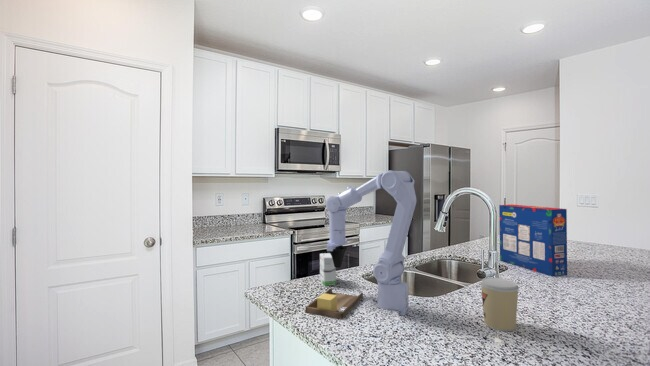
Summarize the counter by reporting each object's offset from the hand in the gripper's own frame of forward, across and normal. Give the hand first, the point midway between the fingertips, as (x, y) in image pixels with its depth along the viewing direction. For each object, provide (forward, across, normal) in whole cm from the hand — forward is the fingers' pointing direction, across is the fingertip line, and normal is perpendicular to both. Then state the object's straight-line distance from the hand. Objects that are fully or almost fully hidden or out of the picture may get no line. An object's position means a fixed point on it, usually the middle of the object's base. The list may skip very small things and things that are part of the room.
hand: (337, 267), depth 116 cm
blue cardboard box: (+10, -67, +68) cm, 96 cm away
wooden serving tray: (+10, +12, +4) cm, 16 cm away
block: (+9, +18, +4) cm, 20 cm away
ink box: (+10, -8, -8) cm, 16 cm away
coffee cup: (+10, +4, +51) cm, 52 cm away
